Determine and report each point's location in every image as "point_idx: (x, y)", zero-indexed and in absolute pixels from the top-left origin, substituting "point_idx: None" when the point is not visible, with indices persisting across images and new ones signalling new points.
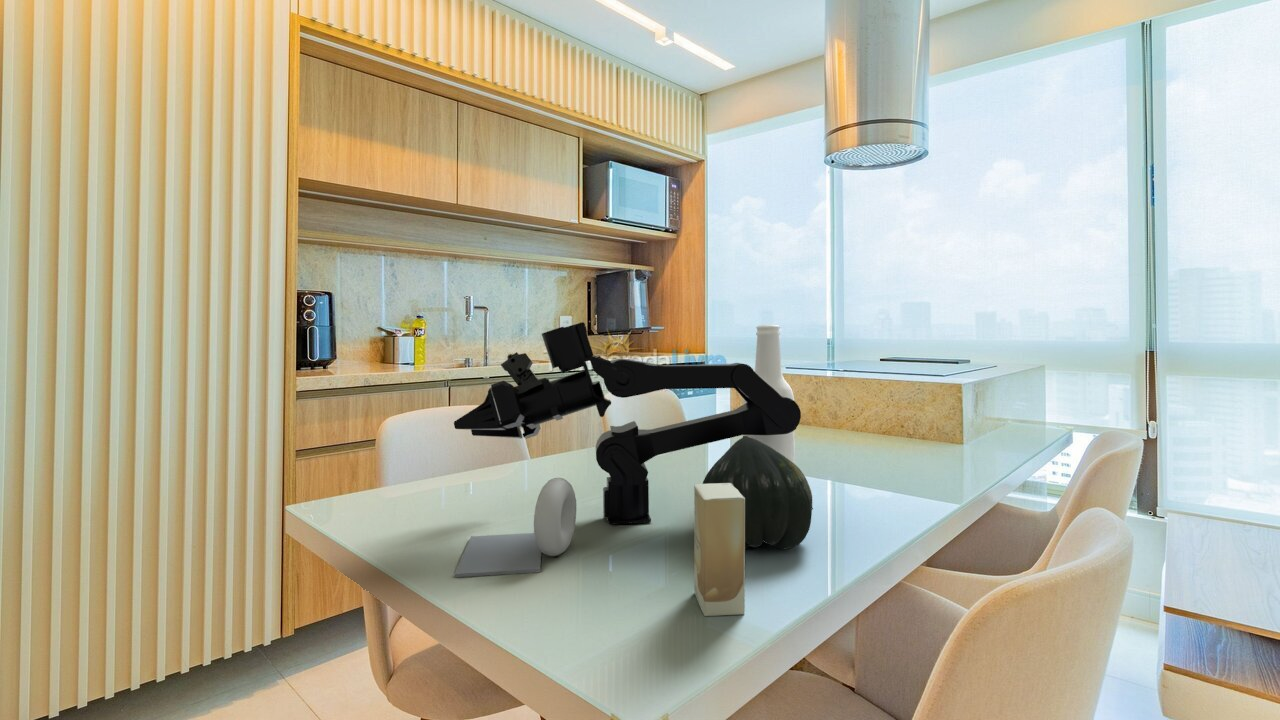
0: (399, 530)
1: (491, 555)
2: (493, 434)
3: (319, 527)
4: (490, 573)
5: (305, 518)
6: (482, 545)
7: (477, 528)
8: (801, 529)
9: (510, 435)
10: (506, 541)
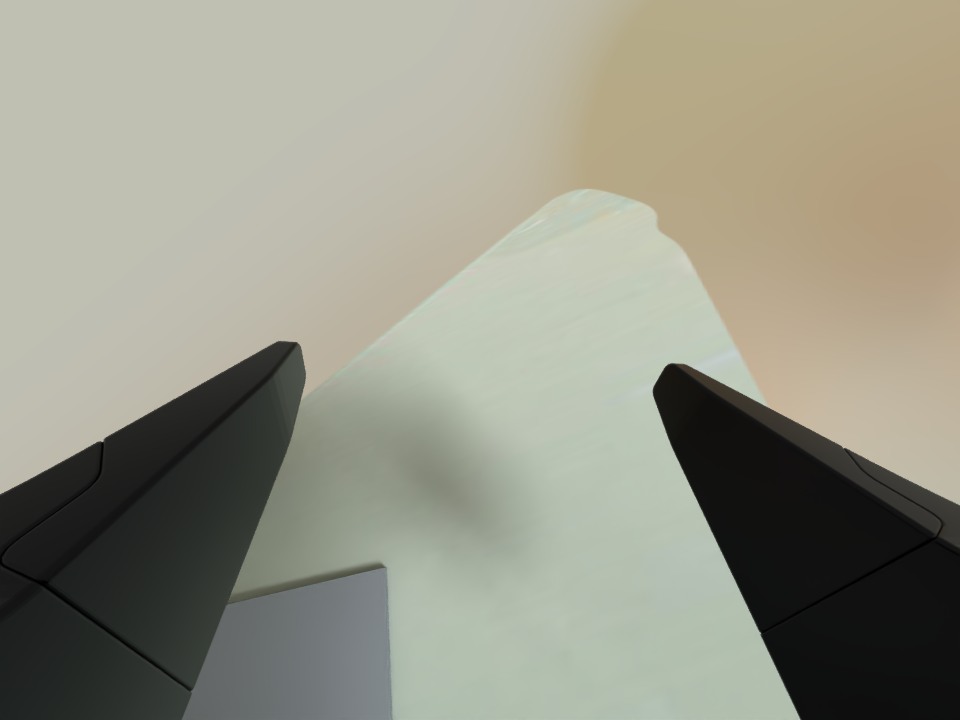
0: (461, 376)
1: (211, 697)
2: (712, 518)
3: (477, 259)
4: None
5: (522, 223)
6: (301, 634)
7: (477, 552)
8: None
9: (786, 676)
10: (321, 713)
